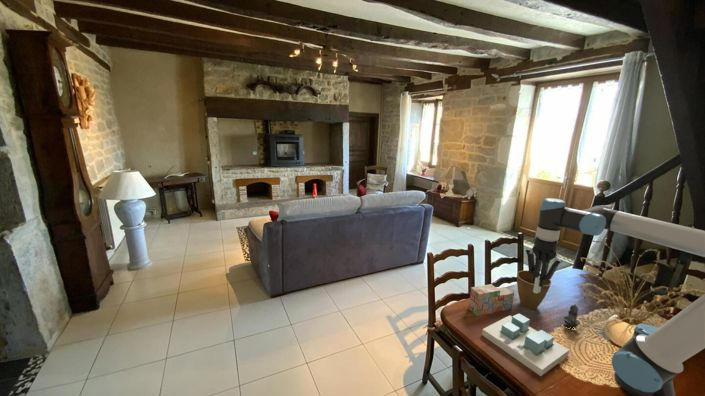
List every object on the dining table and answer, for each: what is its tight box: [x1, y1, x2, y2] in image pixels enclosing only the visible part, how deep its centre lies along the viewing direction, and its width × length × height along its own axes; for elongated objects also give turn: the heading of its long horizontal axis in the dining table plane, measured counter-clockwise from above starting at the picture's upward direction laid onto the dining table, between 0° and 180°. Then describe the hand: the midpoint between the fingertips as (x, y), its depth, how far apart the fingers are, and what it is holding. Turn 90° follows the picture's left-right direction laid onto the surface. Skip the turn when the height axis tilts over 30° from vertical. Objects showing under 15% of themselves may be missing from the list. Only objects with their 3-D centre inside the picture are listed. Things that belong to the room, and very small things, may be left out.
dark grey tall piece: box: [562, 304, 580, 329], centre depth 132 cm, size 6×6×12 cm
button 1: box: [501, 322, 520, 340], centre depth 124 cm, size 5×5×5 cm
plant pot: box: [516, 270, 552, 310], centre depth 148 cm, size 15×15×16 cm
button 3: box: [524, 332, 546, 355], centre depth 116 cm, size 5×5×5 cm
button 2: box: [511, 313, 531, 333], centre depth 127 cm, size 5×5×5 cm
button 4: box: [536, 329, 555, 350], centre depth 119 cm, size 5×5×5 cm
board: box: [481, 315, 570, 377], centre depth 122 cm, size 25×20×3 cm
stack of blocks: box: [468, 283, 515, 317], centre depth 145 cm, size 21×6×12 cm, turn 106°
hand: (536, 291), depth 118 cm, fingers closed
